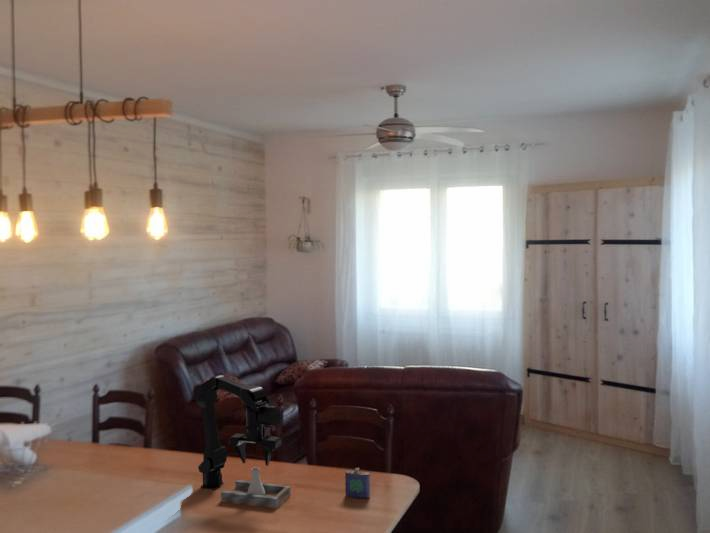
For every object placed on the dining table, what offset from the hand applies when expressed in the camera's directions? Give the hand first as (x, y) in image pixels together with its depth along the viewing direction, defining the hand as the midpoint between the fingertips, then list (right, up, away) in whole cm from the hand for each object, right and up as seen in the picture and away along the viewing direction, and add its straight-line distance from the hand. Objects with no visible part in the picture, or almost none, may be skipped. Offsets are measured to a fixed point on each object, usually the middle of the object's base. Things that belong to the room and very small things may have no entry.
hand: (255, 464), depth 231 cm
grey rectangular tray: (0, -13, +1) cm, 13 cm away
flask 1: (0, -12, +1) cm, 12 cm away
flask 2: (+37, -12, +1) cm, 39 cm away
